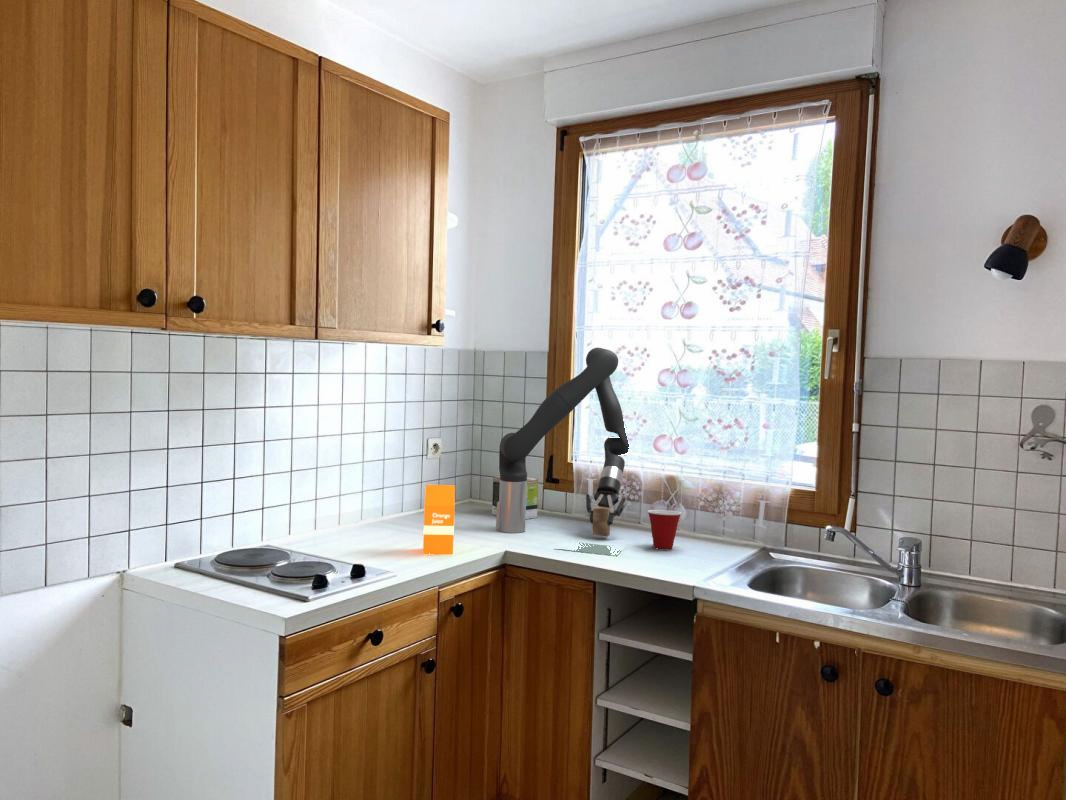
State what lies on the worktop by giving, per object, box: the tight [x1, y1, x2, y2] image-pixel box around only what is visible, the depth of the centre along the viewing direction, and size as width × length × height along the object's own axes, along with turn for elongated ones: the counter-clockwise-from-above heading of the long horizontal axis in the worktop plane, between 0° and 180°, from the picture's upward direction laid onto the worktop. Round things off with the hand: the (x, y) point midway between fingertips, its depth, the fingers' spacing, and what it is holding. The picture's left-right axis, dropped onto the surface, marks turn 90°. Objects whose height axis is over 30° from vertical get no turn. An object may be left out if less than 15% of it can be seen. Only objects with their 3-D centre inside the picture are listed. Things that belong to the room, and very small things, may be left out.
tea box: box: [491, 475, 539, 520], centre depth 293 cm, size 15×10×15 cm
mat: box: [573, 542, 620, 556], centre depth 244 cm, size 20×12×1 cm, turn 72°
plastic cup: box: [646, 509, 683, 550], centre depth 249 cm, size 11×11×12 cm
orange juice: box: [422, 484, 456, 555], centre depth 233 cm, size 8×9×20 cm
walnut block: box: [591, 506, 611, 538], centre depth 259 cm, size 5×4×9 cm
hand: (600, 523), depth 258 cm, fingers closed on walnut block, 5 cm apart
